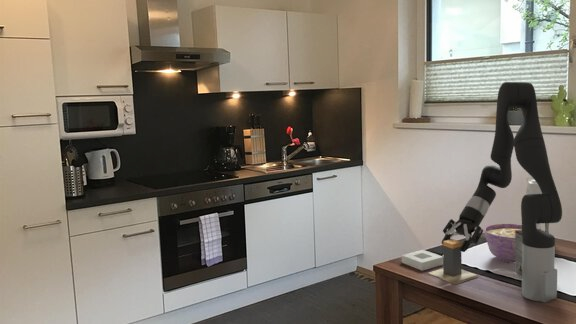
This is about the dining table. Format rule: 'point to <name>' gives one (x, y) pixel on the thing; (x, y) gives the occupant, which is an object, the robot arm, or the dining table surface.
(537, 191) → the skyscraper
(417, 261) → the white square block
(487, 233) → the bowl of food
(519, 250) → the coffee box
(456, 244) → the grey square pillar
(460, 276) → the mat
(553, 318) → the dining table surface
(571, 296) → the dining table surface
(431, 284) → the dining table surface
